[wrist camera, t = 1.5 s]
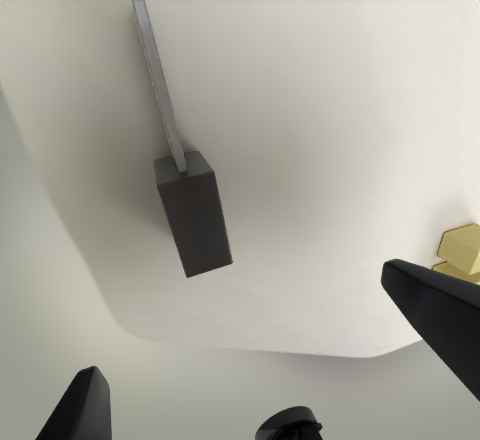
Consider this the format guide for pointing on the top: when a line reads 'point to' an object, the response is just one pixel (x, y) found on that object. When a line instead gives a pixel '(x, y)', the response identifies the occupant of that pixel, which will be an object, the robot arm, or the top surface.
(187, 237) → the knife
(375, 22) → the top surface
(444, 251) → the butter pat
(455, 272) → the butter stick
